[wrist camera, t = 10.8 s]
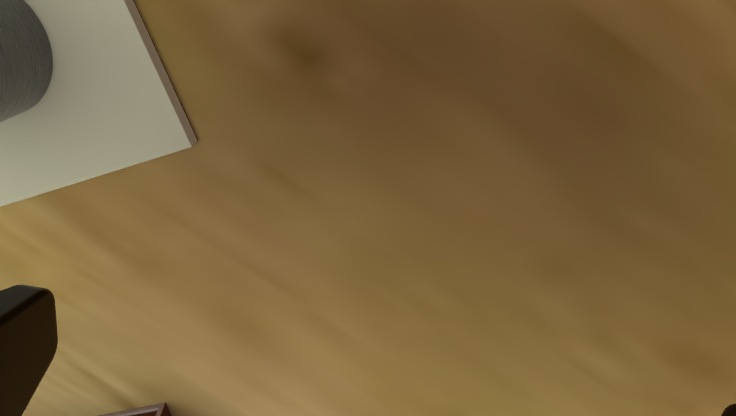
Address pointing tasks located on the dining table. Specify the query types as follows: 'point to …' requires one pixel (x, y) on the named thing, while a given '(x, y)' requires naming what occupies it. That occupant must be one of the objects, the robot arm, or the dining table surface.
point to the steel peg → (22, 58)
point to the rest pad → (92, 102)
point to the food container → (144, 411)
